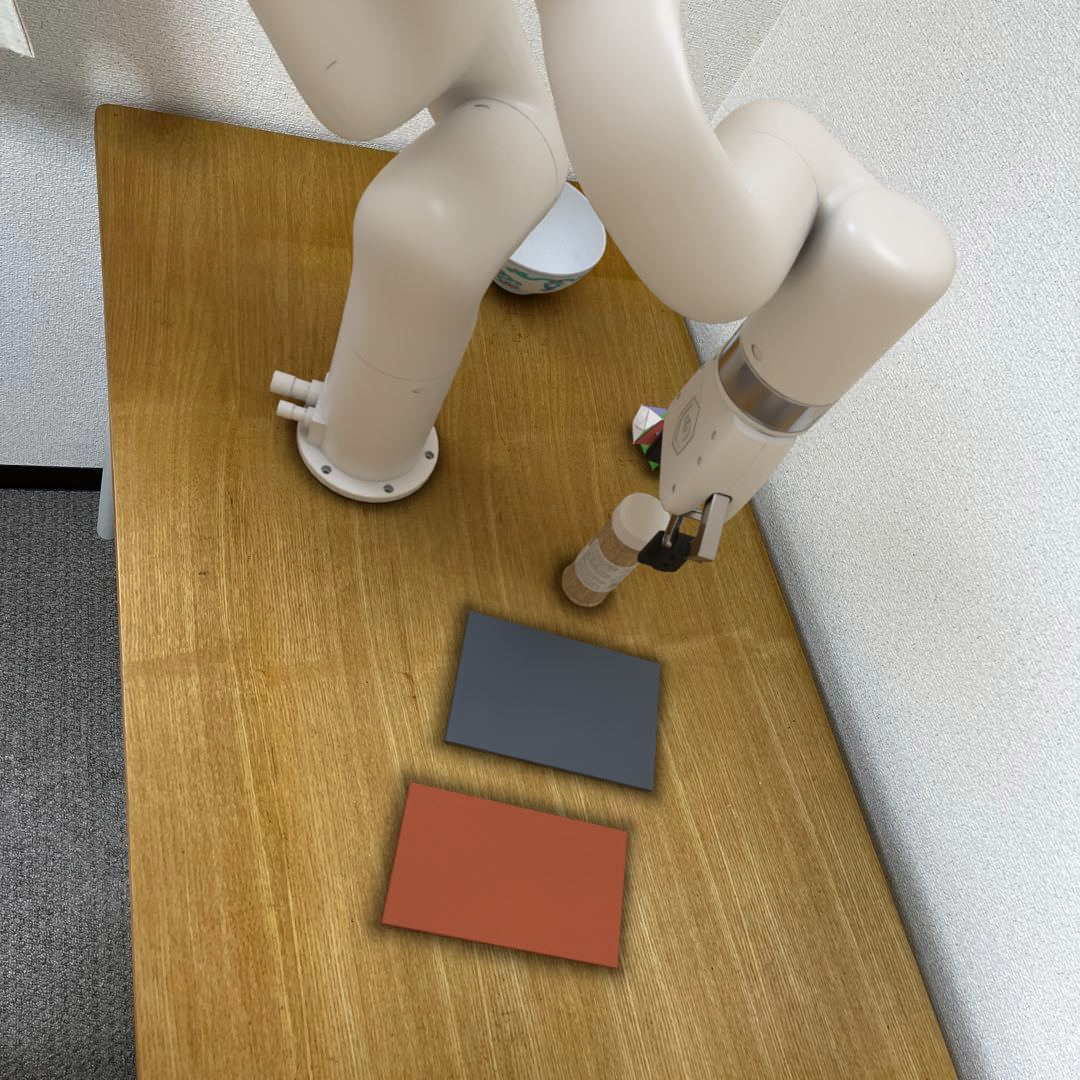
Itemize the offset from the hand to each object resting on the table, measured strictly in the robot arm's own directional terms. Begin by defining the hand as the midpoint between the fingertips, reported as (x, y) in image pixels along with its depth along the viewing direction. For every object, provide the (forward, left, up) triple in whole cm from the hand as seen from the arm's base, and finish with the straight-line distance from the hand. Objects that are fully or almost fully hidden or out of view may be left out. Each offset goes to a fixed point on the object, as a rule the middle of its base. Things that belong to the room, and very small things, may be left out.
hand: (658, 511), depth 70 cm
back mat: (-1, -11, -15) cm, 19 cm away
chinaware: (-12, +36, -15) cm, 41 cm away
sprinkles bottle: (0, 0, -15) cm, 15 cm away
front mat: (-3, -26, -15) cm, 30 cm away
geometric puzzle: (+6, +18, -15) cm, 24 cm away
